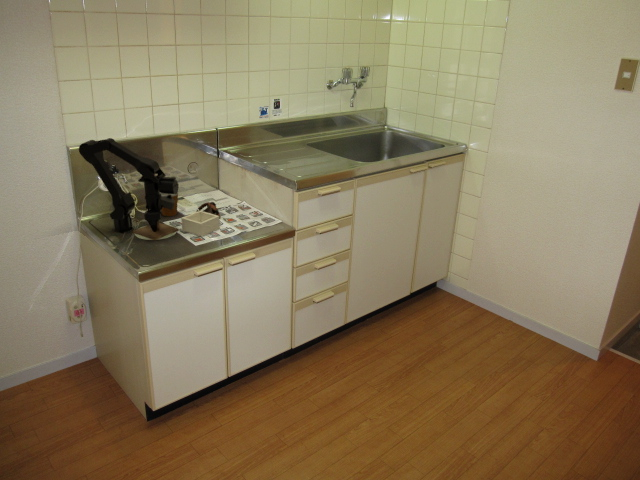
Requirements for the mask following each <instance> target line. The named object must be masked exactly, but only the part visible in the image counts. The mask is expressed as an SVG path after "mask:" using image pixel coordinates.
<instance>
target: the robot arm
mask: <svg viewBox="0 0 640 480" xmlns="http://www.w3.org/2000/svg"><path fill="white" fill-rule="evenodd" d="M104 151H108V152H110V153H111V154H113V155H114V156H117V157H118V158H120V159H121V160H123V161H124V162H126V163H127V164H129V165H131V166H133V168H134V169H135V170H136V172H138V173H139V174H140V175H141V177H140V178H139V179H138V180H137V182H139V183H143V186H144V200H145V209H146V211H144V220H145V221H146V222H147V224H148V225H150V227H151V228H152V230H153V232H157V223H158V221H159V222H160V220H162V210H161V209H162V207H164V208H167V209H169V210H173V207H174V204H175V200H174V199H172V195H169V194H177V192H178V191H179V183H178V180H177V179H176V177H175V176H171V177H169V176H166V174H165V173H164V171H163V170H162V168H161V167H160V164H159V162H158V161H156V160H154V159H151V158H149V157H145V156H141V155H139V154H137V153H136V152H135V151H132V150H131V149H129V148H127V147H126V146H124V145H122V144H121V143H119V142H117V141H116V140H115V139H114V138H111V137H110V138H106V139H100V140H96V139H95V140H94V139H90V140H87V141H85V142H82V143H80V144H79V146H78V153H79V154H80V155H81V157H82V158H83V159H84V160H85V162H87V163H89V164H90V165H91V166H92V167H93V169H94V170H95V171H96V173H97V175H98V177H99V178H100V180H101V181H102V183H103V185H104V186H105V188H106V189H107V191H108V193H109V194H110V196H111V200H112V201H111V202H112V206H113V208H114V210H113V211H112V212H111V213H110V214H109V217H110V218H111V220H113V228H112V231H113V232H117V233H120V234H124V233H126V232H130V231H133V230H135V227H133V220H132V216H131V214H132V212H133V210H134V209H135V208H136V202H135V201H136V199H135V198H133V196H132V194H131V192H125V191H123V189H122V188H121V186H120V184H119V182H118V181H117V179H116V178H115V176H114V174H113V172H112V171H111V168H110V167H109V166H108V164H107V162H106V160H105V159H104ZM160 192H161V193H164V194H168V195H167V196H166V197H165V196H164V197H162V196H161V193H160Z"/></svg>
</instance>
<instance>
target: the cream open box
mask: <svg viewBox="0 0 640 480" xmlns="http://www.w3.org/2000/svg"><path fill="white" fill-rule="evenodd" d="M180 219H181V230H182V231H183V232H186V233H190V234H193V235H196V236H199V237H204V236H206V235H208V234H211V233H213V232H215V231H216V230H219V229H221V225H220V224H221V223H220V220H219V216H217V215H216V214H211V213H207V212H203V210H201V211H199V210H198V212H196V211H195V212H193V213H190V214H187V215H184V216H183V217H181V218H180Z"/></svg>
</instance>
